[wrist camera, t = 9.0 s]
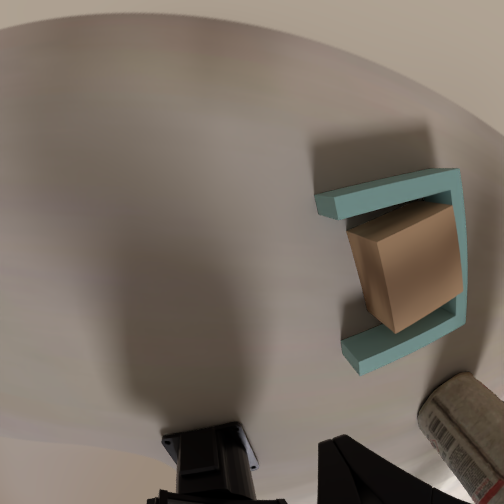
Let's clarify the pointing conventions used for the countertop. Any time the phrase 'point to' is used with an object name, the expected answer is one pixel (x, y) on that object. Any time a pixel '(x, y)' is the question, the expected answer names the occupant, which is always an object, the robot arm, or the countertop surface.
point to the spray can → (468, 435)
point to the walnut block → (408, 262)
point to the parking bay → (384, 195)
